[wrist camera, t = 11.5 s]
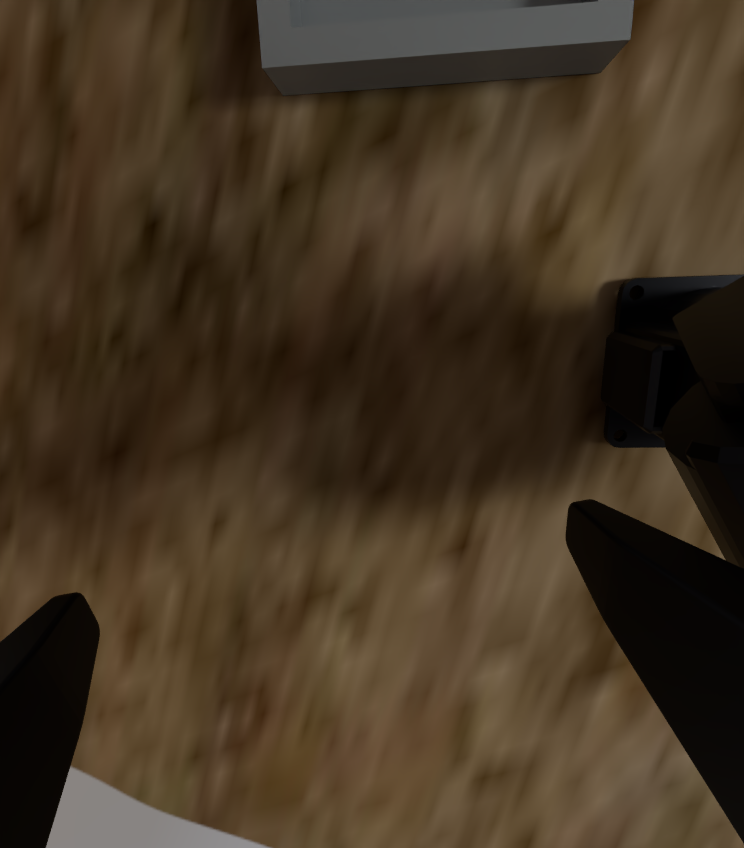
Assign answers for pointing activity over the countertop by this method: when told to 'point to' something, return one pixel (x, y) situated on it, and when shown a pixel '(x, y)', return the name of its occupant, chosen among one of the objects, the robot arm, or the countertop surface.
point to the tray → (434, 41)
